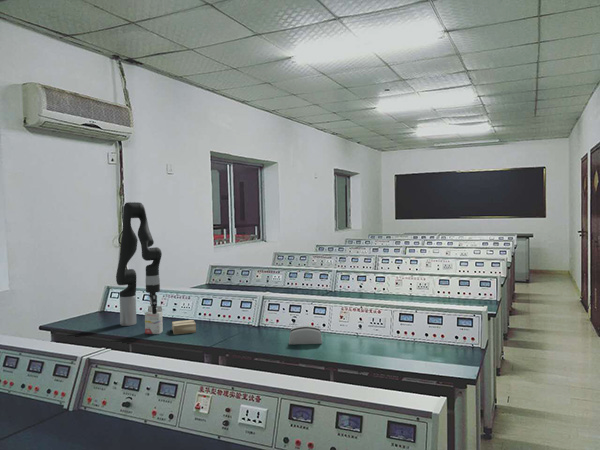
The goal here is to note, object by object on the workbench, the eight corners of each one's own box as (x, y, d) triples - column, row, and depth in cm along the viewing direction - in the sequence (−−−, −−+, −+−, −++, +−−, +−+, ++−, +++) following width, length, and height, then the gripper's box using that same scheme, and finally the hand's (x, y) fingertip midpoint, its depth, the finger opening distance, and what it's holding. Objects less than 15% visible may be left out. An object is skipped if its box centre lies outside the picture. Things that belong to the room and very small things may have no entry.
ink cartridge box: (144, 334, 269) (144, 307, 268) (148, 331, 273) (147, 305, 273) (159, 334, 268) (159, 307, 267) (163, 331, 273) (162, 305, 272)
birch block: (172, 330, 278) (172, 321, 278) (193, 328, 281) (193, 319, 281) (173, 335, 266) (173, 326, 266) (196, 332, 270) (195, 324, 270)
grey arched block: (321, 341, 246) (321, 324, 243) (322, 346, 242) (322, 329, 238) (288, 341, 246) (288, 324, 243) (288, 347, 242) (288, 330, 238)
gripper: (144, 282, 275) (145, 311, 275) (146, 285, 262) (147, 315, 262) (158, 281, 278) (159, 309, 278) (161, 284, 265) (162, 314, 265)
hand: (153, 312), depth 270 cm, fingers open, 8 cm apart
